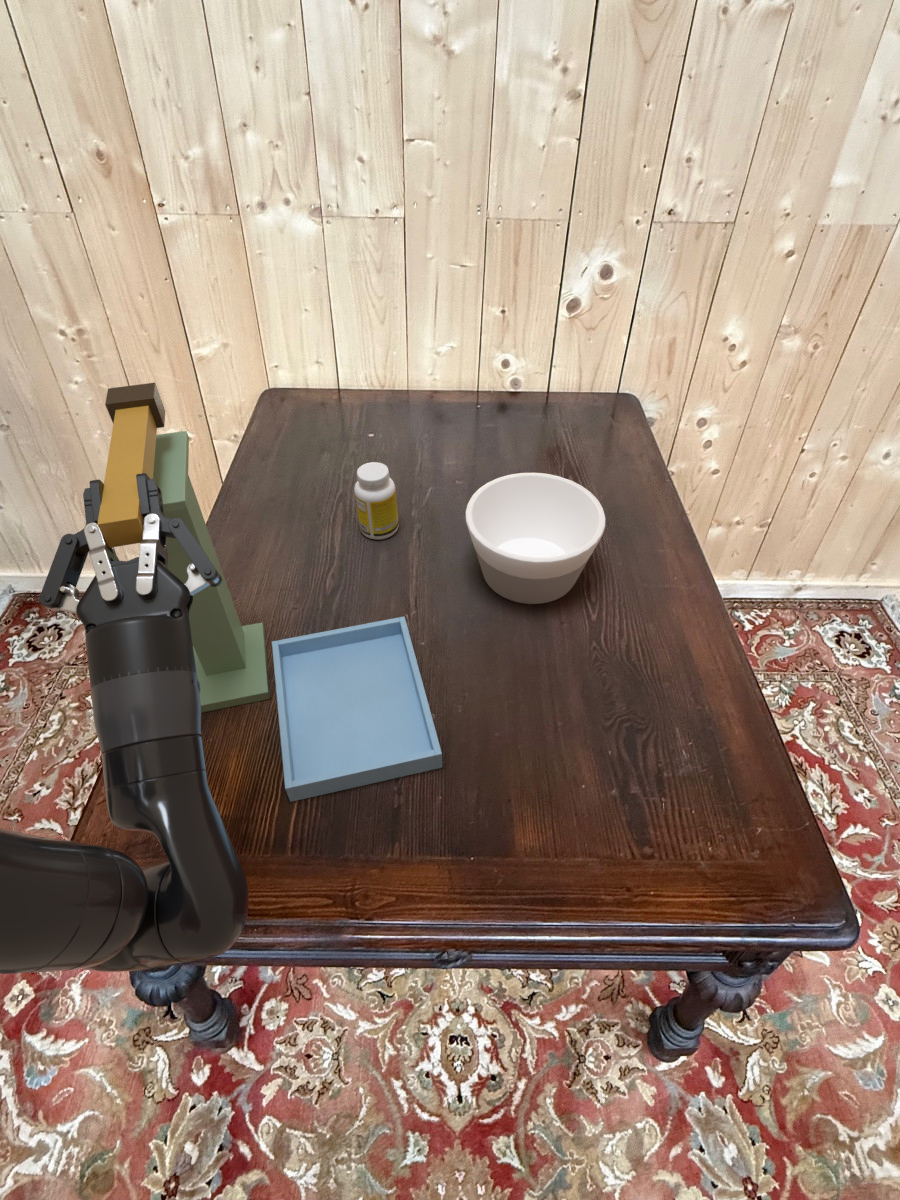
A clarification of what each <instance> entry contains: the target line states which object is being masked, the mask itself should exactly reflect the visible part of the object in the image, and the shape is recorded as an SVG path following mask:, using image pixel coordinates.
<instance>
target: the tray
mask: <svg viewBox="0 0 900 1200" xmlns="http://www.w3.org/2000/svg"><path fill="white" fill-rule="evenodd" d="M271 646H272V648H271V650H272V659H273V669H274V683H275V691H276V705H277V714H278V726H279V736H280V737H279V738H280V746H281V758H282V759H281V760H282V767H283V768H282V770H283V771H282V772H283V781H284V790H285V792H286V795H287V797H288V801H289V802H290V803H292V802H296V801H301V800H305V799H311V798H314V797H318V796H324V795H328V794H332V793H336V792H340V791H345V790H349V789H354V788H359V787H363V786H367V785H371V784H376V783H380V782H385V781H389V780H394V779H399V778H403V777H407V776H411V775H417V774H420V773H425V772H430V771H434V770H439V769H442V768H443V753H442V748H441V745H440V742H439V738H438V733H437V730H436V727H435V723H434V719H433V716H432V711H431V709H430V708H431V707H430V705H429V701H428V698H427V694H426V690H425V686H424V683H423V679H422V676H421V671H420V668H419V664H418V661H417V656H416V654H415V650H414V646H413V642H412V639H411V636H410V631H409V628H408V624H407V620H406V617H405V616H399V617H394V618H388V619H383V620H377V621H372V622H368V623H362V624H357V625H351V626H347V627H341V628H336V629H331V630H330V629H329V630H325V631H321V632H315V633H310V634H304V635H300V636H293V637H288V638H283V639H277V640H273V641H272V640H271Z"/></svg>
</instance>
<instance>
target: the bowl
mask: <svg viewBox="0 0 900 1200" xmlns="http://www.w3.org/2000/svg"><path fill="white" fill-rule="evenodd" d="M606 519H607V518H606V513H605V511H604V508H603V506H602V504H601V503H600V501H599V499H598V498H597V497H596V496H595V495H594V494H593V493H592V492H591V491H590V490H588V489H587V488H586V487H584V486H582V485H581V484H579V483H578V482H575V481H574V480H571V479H567V478H565V477H562V476H560V475H555V474H550V473H543V472H519V473H511V474H506V475H504V476H499V477H497V478H495V479H493V480H491V481H488V482H486V483H485V484H484V485H482V486H480V487H479V488H478V489H477V490H476V491H475V492H474V493H473V494H472V495H471V497H470V499H469V501H468V502H467V504H466V508H465V523H466V527H467V529H468V532H469V535H470V539H471V543H472V545H473V548H474V551H475V554H476V557H477V561H478V563H479V566H480V569H481V570H480V571H481V573H482V575H483V579H484V581H485V583H486V584H487V585H488V587H489V588H490V589H491V590H492V591H494V593H495V594H497V595H499V596H500V597H502V598H504V599H506V600H509V601H512V602H514V603H519V604H527V605H540V604H546V603H547V604H548V603H551V602H553V601H556V600H559V599H560V598H562V597H564V596H565V595H567V594H568V593H570V591H571V590H572V588H573V587H574V586H575V584H576V582H577V581H578V579H579V577H580V575H581V574H582V572H583V570H584V569H585V567H586V565H587V563H588V561H589V560H590V558H591V556H592V555H593V553H594V551H595V550H596V548H597V546H598V544H599V543H600V540H601V539H602V537H603V535H604V532H605V529H606Z"/></svg>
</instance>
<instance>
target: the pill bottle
mask: <svg viewBox="0 0 900 1200" xmlns="http://www.w3.org/2000/svg"><path fill="white" fill-rule="evenodd" d="M389 470H390V469H389V468H388V466H387V465H386V464H385V463H382V462H379V461H378V462H376V461H371V462H366V463H363V464H362V465H360V466H359V467H358V468H357V470H356V478H357V481H356V482H355V484H354V488H353V489H354V491H353V492H354V497H355V504H356V505H355V506H356V511H357V518H358V525H359V530H360V532H361V533H362V535H363V536H365V537H366V538H368V539H371V540H376V541H379V540H385V539H389V538H390V537H392V536H393V535H395V534H396V533H397V531H398V529H399V525H400V524H399V523H400V521H399V512H398V511H399V510H398V502H397V491H396V484H395V482H394V481H393V479H392V478H391V477H390V471H389Z"/></svg>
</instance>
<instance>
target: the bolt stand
mask: <svg viewBox="0 0 900 1200" xmlns="http://www.w3.org/2000/svg"><path fill="white" fill-rule="evenodd" d="M189 453H190V437H189V435H188V430H182V431H175V432H167V433H161V434H156V446H155V458H154V471H153V479H154V481H155V482H156V483H157V485H158V486H159V488H160V489H161V492H162V500H163V507H164V515H165V517H166V518H175V517H177V518H180V519H182V520H183V522H184V523H185V525H186V526H187V527H188V529H189V530H190V531H191V533H192V534H193V536H194V537H195V539H196V540H197V542H198V543H199V545H200V546H201V548H202V549H203V550H204V552H205V553H206V555H207V556H208V558H209V559H210V561H211V562H212V564H213V565H214V567H215V568H216V570H217V571H218V572H219V574H220V575H221V577H222V582H221V584H220V585H219V586H217V587H212V586H210V585H209V586H208V587H206V588H205V589H203V590H201V591H200V592H198V593H196V594H195V595H193V602H192V605H191V607H190V610H189V621H190V628H191V636H192V643H193V650H194V657H195V664H196V672H197V678H198V681H199V683H200V702H201V714H202V713H206V712H212V711H216V710H217V711H218V710H221V709H227V708H232V707H237V706H242V705H247V704H251V703H257V702H261V701H267V700H271V689H270V677H269V676H270V675H269V664H268V663H269V662H268V652H267V643H266V642H267V641H266V640H267V639H266V629H265V625H264V622H257V623H252V624H246V625H242V623H241V621H240V617H239V615H238V613H237V608H236V606H235V604H234V600H233V598H232V595H231V592H230V589H229V586H228V583H227V581H226V578H225V575H224V571H223V569H222V566H221V563H220V561H219V558H218V555H217V553H216V552H217V551H216V549H215V547H214V543H213V541H212V538H211V535H210V532H209V530H208V527H207V524H206V520H205V518H204V515H203V512H202V509H201V506H200V504H199V500H198V498H197V495H196V492H195V488H194V486H193V484H192V481H191V478H190V475H189V460H190V459H189V457H190V456H189ZM167 552H168V569H169V570H170V571H171V572H172V573H173V574H174V575H176V576H177V577H178V578H179V579H180V580H181V581H182V582H183V583H184V584H185V583H186V582H187V580H188V573H187V567H188V565H190V564H191V563H192V561H191V560H190V558H189V557H188V555H187V554H186V552H185V551H184V550H183V548H182V547H181V545H180V544H179V542H178V541H177V539H176V538H169V537H168V538H167Z"/></svg>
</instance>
